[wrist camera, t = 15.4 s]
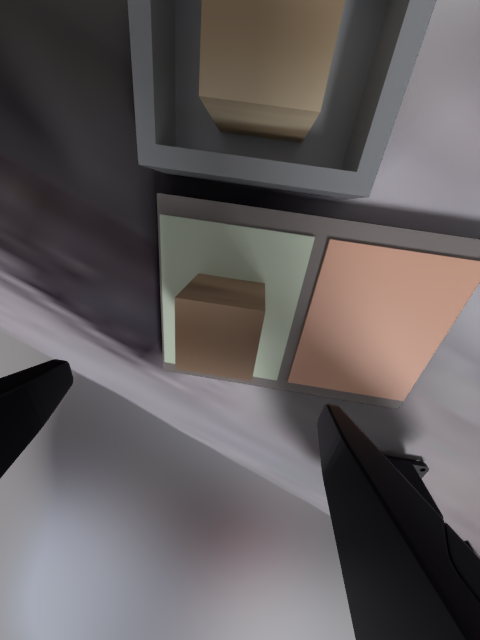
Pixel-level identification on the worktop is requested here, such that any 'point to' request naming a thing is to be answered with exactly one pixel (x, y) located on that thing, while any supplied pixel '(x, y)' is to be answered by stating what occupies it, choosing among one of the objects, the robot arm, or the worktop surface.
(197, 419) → the worktop surface
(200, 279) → the walnut block
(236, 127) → the birch block
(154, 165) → the grey tray
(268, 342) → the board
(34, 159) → the worktop surface
